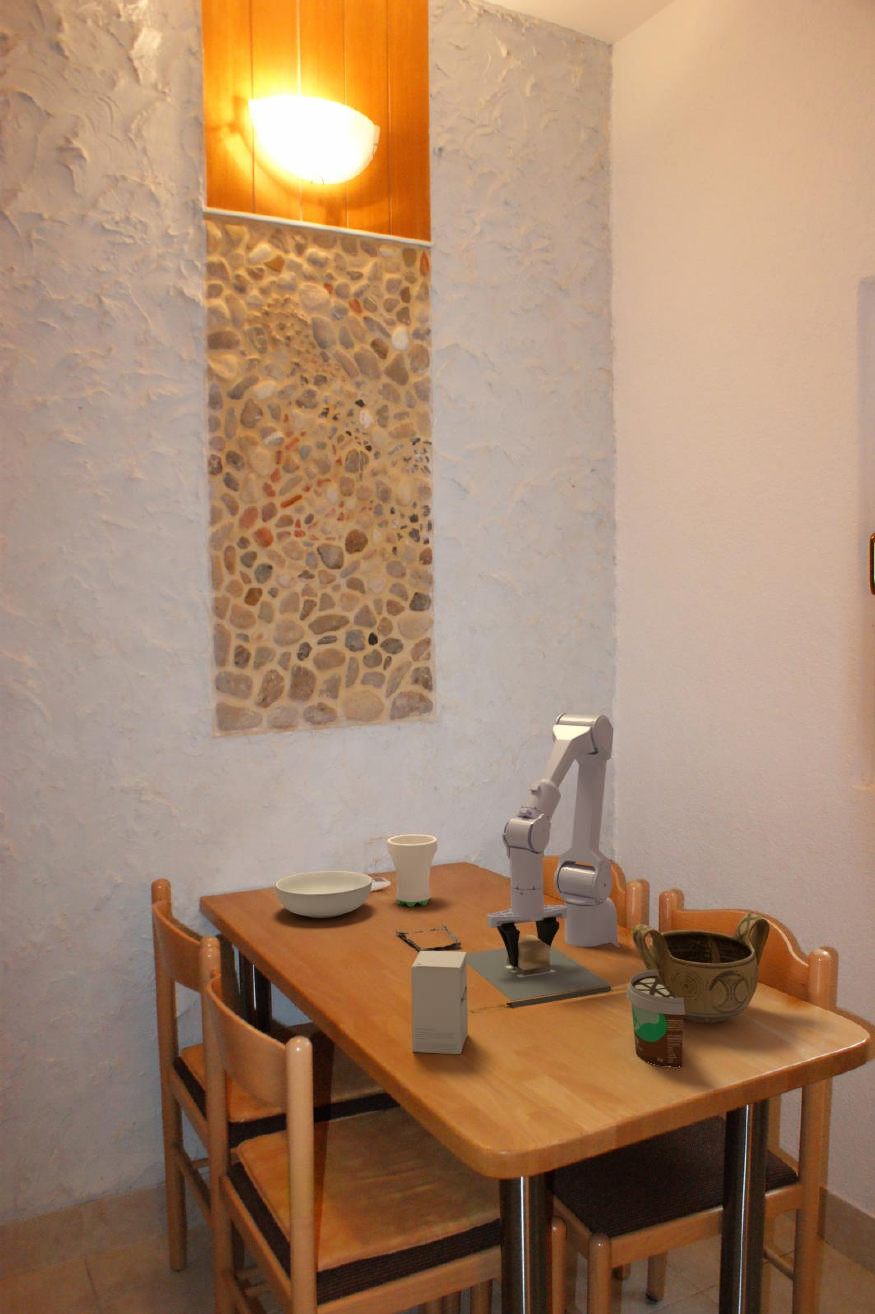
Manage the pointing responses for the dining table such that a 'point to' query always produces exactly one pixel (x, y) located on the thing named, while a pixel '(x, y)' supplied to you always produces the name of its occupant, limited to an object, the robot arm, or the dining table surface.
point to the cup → (412, 866)
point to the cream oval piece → (323, 892)
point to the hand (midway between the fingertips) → (528, 962)
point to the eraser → (532, 956)
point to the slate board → (536, 978)
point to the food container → (656, 1020)
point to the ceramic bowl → (707, 966)
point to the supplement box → (439, 1002)
